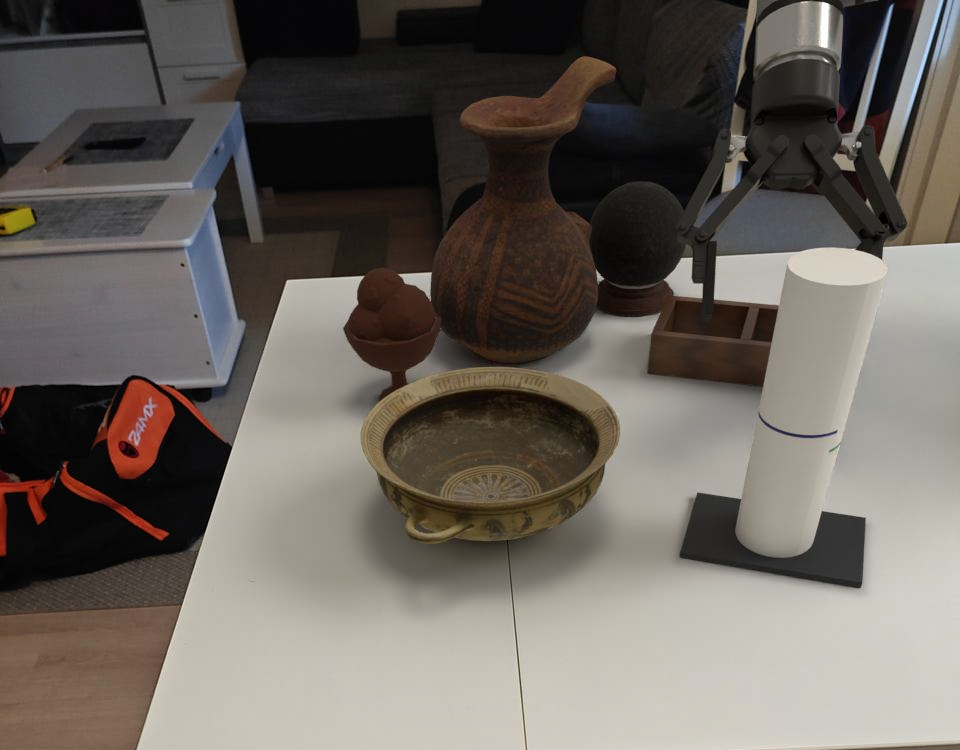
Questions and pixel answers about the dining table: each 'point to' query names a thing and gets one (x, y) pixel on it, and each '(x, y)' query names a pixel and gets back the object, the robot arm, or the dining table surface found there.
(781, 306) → the cylindrical container
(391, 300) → the ice cream bowl
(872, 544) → the dining table surface
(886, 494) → the dining table surface
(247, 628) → the dining table surface
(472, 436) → the ceramic bowl
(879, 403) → the dining table surface
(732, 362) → the wooden compartment box
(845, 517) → the mat
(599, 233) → the black ball on stand
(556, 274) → the jug
